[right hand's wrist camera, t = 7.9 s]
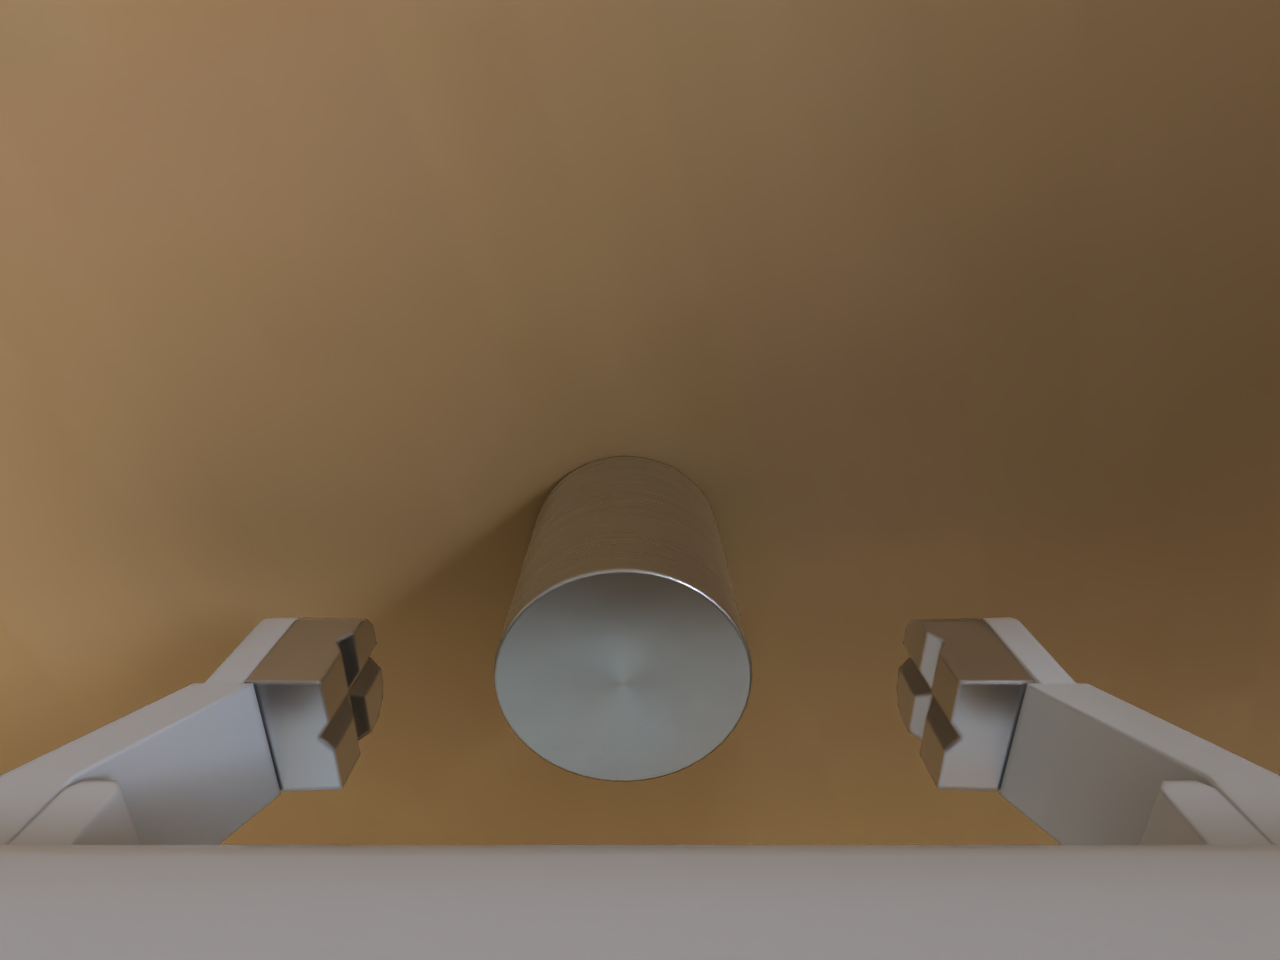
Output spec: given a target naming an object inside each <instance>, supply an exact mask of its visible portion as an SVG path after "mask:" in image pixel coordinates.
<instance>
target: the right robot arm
mask: <svg viewBox="0 0 1280 960" xmlns="http://www.w3.org/2000/svg"><path fill="white" fill-rule="evenodd" d="M376 644H377V642H376V638H375V633H374V628H373V624H372V623H371V622H370V621H369V620H368V619H347V618H299V617H278V618H267V619H263V620H261V621H260V622H259V623H258V625H257V626H256V627H255V628H254V629H253V630H252V631H251V632H250V633H249V634H248V635H247V637H246V638H245V639H244V640H243V641H242V642H241V643H240V644H239V645H238V646H237V647H236V649H235V650H234V651H233V652H232V653H231V654H230V655H229V656H228V657H227V658H226V660H225V661H224V662H223V663H222V664H221V665H220V666H219V667H218V668H217V669H216V670H215V672H214V673H213V674H212V675H211V676H210V677H209V678H208V679H207V680H206V681H205V682H204V683H192V684H190V685H188V686H186V687H184V688H182V689H180V690H178V691H176V692H173V693H171V694H169V695H167V696H165V697H163V698H161V699H159V700H157V701H155V702H153V703H150V704H148V705H146V706H144V707H142V708H140V709H138V710H136V711H134V712H132V713H130V714H127V715H125V716H123V717H121V718H119V719H117V720H115V721H113V722H111V723H109V724H107V725H104V726H102V727H100V728H98V729H96V730H94V731H92V732H90V733H88V734H86V735H84V736H81V737H79V738H77V739H75V740H73V741H71V742H69V743H67V744H65V745H63V746H61V747H58V748H56V749H54V750H52V751H50V752H48V753H46V754H44V755H42V756H40V757H38V758H35V759H33V760H31V761H29V762H27V763H25V764H23V765H21V766H19V767H17V768H15V769H12V770H10V771H8V772H6V773H4V774H2V775H0V960H1280V775H1277V774H1275V773H1273V772H1271V771H1269V770H1267V769H1265V768H1263V767H1261V766H1259V765H1257V764H1255V763H1252V762H1250V761H1248V760H1246V759H1244V758H1242V757H1240V756H1238V755H1236V754H1234V753H1232V752H1230V751H1227V750H1225V749H1223V748H1221V747H1219V746H1217V745H1215V744H1213V743H1211V742H1209V741H1207V740H1204V739H1202V738H1200V737H1198V736H1196V735H1194V734H1192V733H1190V732H1188V731H1186V730H1184V729H1182V728H1179V727H1177V726H1175V725H1173V724H1171V723H1169V722H1167V721H1165V720H1163V719H1161V718H1159V717H1157V716H1154V715H1152V714H1150V713H1148V712H1146V711H1144V710H1142V709H1140V708H1138V707H1136V706H1134V705H1132V704H1129V703H1127V702H1125V701H1123V700H1121V699H1119V698H1117V697H1115V696H1113V695H1111V694H1109V693H1106V692H1104V691H1102V690H1100V689H1098V688H1096V687H1094V686H1092V685H1090V684H1088V683H1076V682H1075V681H1074V680H1073V679H1072V678H1071V677H1070V676H1069V675H1068V674H1067V673H1066V672H1065V670H1064V669H1063V668H1062V667H1061V666H1060V665H1059V664H1058V663H1057V662H1056V661H1055V659H1054V658H1053V657H1052V656H1051V655H1050V654H1049V653H1048V652H1047V651H1046V650H1045V649H1044V647H1043V646H1042V645H1041V644H1040V643H1039V642H1038V641H1037V640H1036V639H1035V638H1034V637H1033V635H1032V634H1031V633H1030V632H1029V631H1028V630H1027V629H1026V628H1025V627H1024V626H1023V624H1022V623H1021V622H1020V621H1019V620H1016V619H1014V618H1012V617H995V618H977V619H932V620H910V622H909V624H908V626H907V628H906V631H905V637H904V642H903V644H904V645H905V647H906V649H907V651H908V652H909V654H910V656H911V657H910V658H909V659H908V660H907V661H906V662H905V663H904V664H903V665H902V666H901V667H900V668H899V673H898V681H897V696H898V706H899V710H900V713H901V716H902V719H903V722H904V724H905V726H906V728H907V730H908V731H909V732H910V733H911V734H913V735H914V736H916V737H917V738H919V739H920V740H922V743H921V749H920V756H921V757H922V759H923V761H924V763H925V765H926V767H927V769H928V771H929V773H930V775H931V777H932V779H933V781H934V783H935V785H936V786H937V788H938V789H944V790H980V791H1000V793H999V794H1000V795H1001V796H1002V797H1004V798H1005V799H1006V800H1007V801H1009V802H1010V803H1011V804H1012V805H1013V806H1015V807H1016V808H1017V809H1018V810H1020V811H1021V812H1022V813H1023V814H1024V815H1026V816H1027V817H1028V818H1029V819H1031V820H1032V821H1033V822H1034V823H1035V824H1037V825H1038V826H1039V827H1040V828H1042V829H1043V830H1044V831H1045V832H1046V833H1048V834H1049V835H1050V836H1051V837H1053V838H1054V839H1055V840H1056V841H1057V842H1059V843H1060V844H1061V845H219V844H220V843H222V842H223V841H224V840H225V839H226V838H228V837H229V836H230V835H231V834H233V833H234V832H235V831H236V830H237V829H239V828H240V827H241V826H242V825H244V824H245V823H246V822H247V821H248V820H250V819H251V818H252V817H253V816H255V815H256V814H257V813H258V812H259V811H261V810H262V809H263V808H264V807H266V806H267V805H268V804H269V803H270V802H272V801H273V800H274V799H275V798H277V797H278V796H279V795H280V794H281V793H280V791H299V790H334V789H343V787H344V785H345V783H346V781H347V779H348V777H349V775H350V773H351V771H352V769H353V767H354V765H355V763H356V761H357V759H358V757H359V756H360V749H359V743H358V740H360V739H361V738H363V737H364V736H366V735H367V734H369V733H370V732H371V731H372V730H373V728H374V726H375V723H376V721H377V719H378V717H379V713H380V708H381V704H382V699H383V679H382V672H381V668H380V667H379V666H378V665H377V664H376V663H375V662H374V661H373V660H372V659H371V658H370V657H369V656H370V654H371V652H372V651H373V649H374V647H375V645H376Z"/></svg>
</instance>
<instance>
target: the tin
mask: <svg viewBox="0 0 1280 960" xmlns="http://www.w3.org/2000/svg"><path fill="white" fill-rule="evenodd" d="M751 684H752V662H751V658H750V653H749V648H748V644H747V641H746V637H745V633H744V629H743V625H742V621H741V617H740V613H739V610H738V606H737V602H736V598H735V594H734V590H733V586H732V582H731V578H730V575H729V571H728V567H727V563H726V559H725V555H724V551H723V547H722V543H721V540H720V536H719V532H718V528H717V524H716V520H715V517H714V514H713V511H712V509H711V507H710V505H709V503H708V501H707V499H706V497H705V496H704V495H703V493H702V492H701V491H700V490H699V488H698V487H697V486H696V485H695V484H694V483H693V482H692V481H691V480H690V479H688V478H687V477H686V476H684V475H683V474H682V473H680V472H679V471H677V470H675V469H674V468H672V467H670V466H668V465H665V464H663V463H660V462H658V461H654V460H650V459H647V458H640V457H624V456H621V457H611V458H606V459H601V460H597V461H594V462H592V463H589V464H586V465H584V466H582V467H580V468H578V469H576V470H574V471H573V472H572V473H570V474H569V475H567V476H566V477H564V478H563V479H562V480H561V481H560V482H559V483H558V484H557V485H556V486H555V487H554V488H553V490H552V491H551V492H550V493H549V494H548V496H547V498H546V499H545V501H544V503H543V504H542V507H541V509H540V511H539V514H538V517H537V520H536V523H535V527H534V530H533V533H532V537H531V540H530V543H529V546H528V550H527V553H526V556H525V559H524V563H523V566H522V569H521V572H520V576H519V579H518V582H517V585H516V589H515V592H514V595H513V599H512V602H511V605H510V608H509V612H508V615H507V618H506V621H505V625H504V628H503V631H502V634H501V638H500V641H499V644H498V648H497V652H496V656H495V662H494V687H495V691H496V696H497V700H498V703H499V705H500V708H501V710H502V713H503V715H504V717H505V719H506V720H507V722H508V724H509V726H510V727H511V728H512V730H513V731H514V732H515V734H516V735H517V736H518V738H519V739H520V740H521V741H522V742H523V743H524V744H525V745H526V746H527V747H528V748H530V749H531V750H532V751H533V752H535V753H536V754H537V755H539V756H540V757H541V758H543V759H545V760H546V761H548V762H550V763H551V764H553V765H555V766H557V767H559V768H561V769H564V770H566V771H568V772H571V773H574V774H577V775H580V776H584V777H588V778H593V779H597V780H606V781H623V782H630V781H641V780H648V779H654V778H659V777H663V776H666V775H669V774H673V773H676V772H678V771H680V770H683V769H685V768H687V767H690V766H691V765H693V764H695V763H697V762H698V761H700V760H702V759H703V758H705V757H706V756H708V755H709V754H710V753H712V752H713V751H714V750H715V749H716V748H718V747H719V746H720V745H721V744H722V743H723V742H724V741H725V740H726V739H727V737H728V736H729V735H730V734H731V733H732V731H733V730H734V729H735V727H736V725H737V724H738V722H739V721H740V719H741V717H742V715H743V712H744V710H745V708H746V706H747V703H748V699H749V695H750V692H751Z"/></svg>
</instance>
